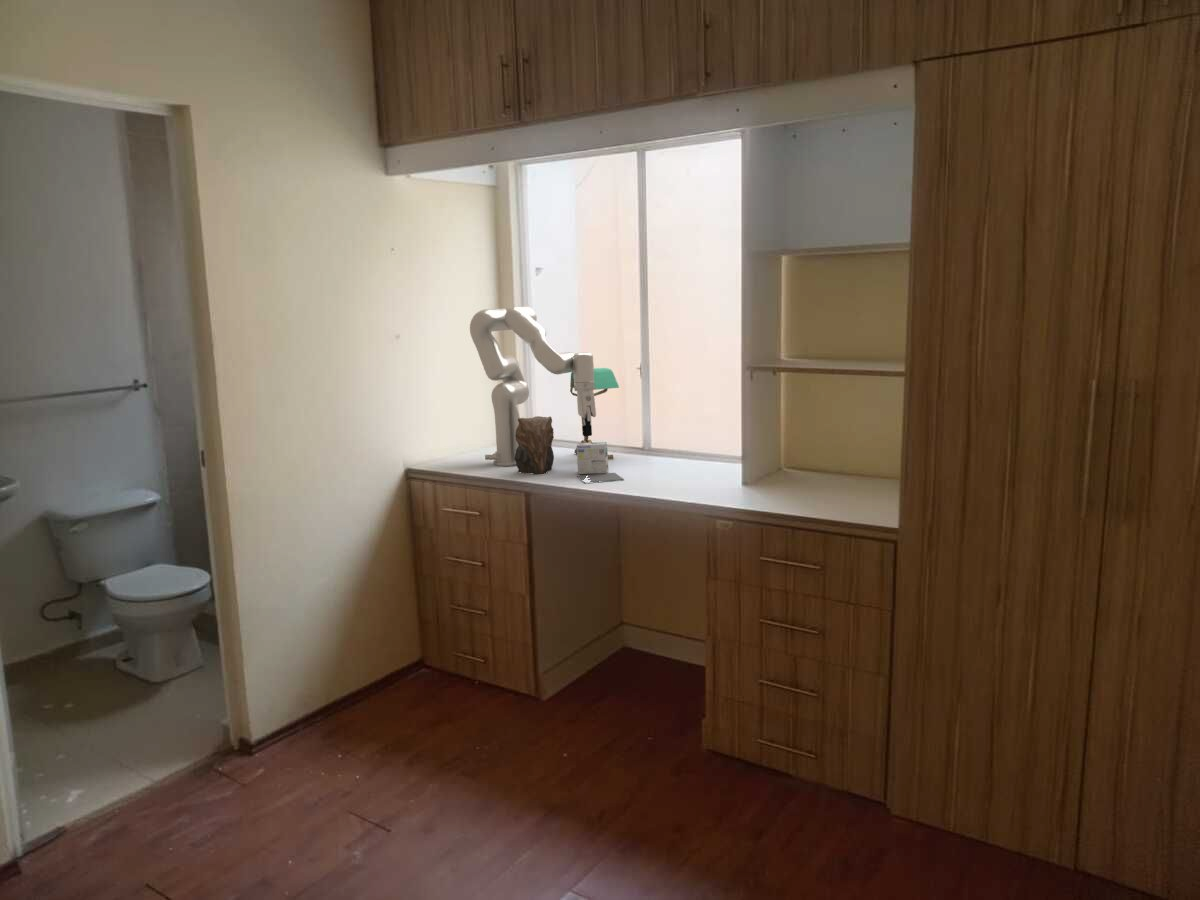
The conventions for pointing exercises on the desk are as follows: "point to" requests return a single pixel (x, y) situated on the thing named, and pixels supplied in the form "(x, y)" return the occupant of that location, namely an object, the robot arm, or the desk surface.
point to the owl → (534, 445)
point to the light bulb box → (592, 458)
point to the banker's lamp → (602, 381)
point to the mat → (601, 477)
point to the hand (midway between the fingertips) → (587, 435)
